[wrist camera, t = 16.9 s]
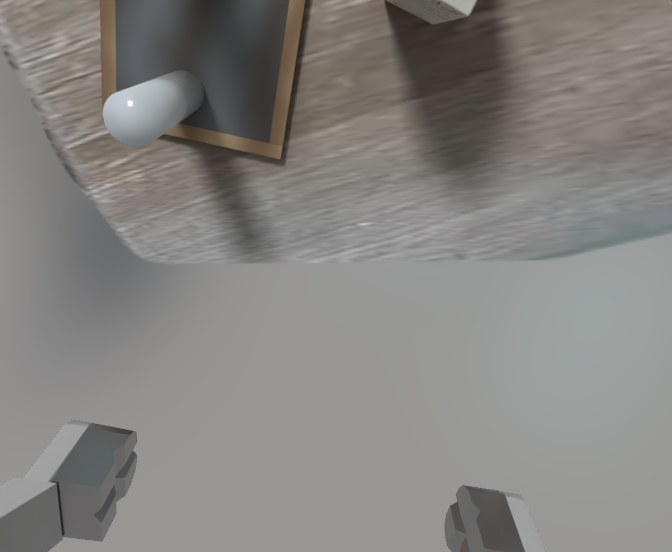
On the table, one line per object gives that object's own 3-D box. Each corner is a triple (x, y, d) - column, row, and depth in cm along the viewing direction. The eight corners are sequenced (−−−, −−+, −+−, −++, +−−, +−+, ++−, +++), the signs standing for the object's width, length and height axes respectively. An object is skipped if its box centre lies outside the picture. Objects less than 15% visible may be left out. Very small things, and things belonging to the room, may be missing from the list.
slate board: (316, -64, 34) (315, -66, 33) (281, 157, 41) (280, 159, 41) (102, -119, 32) (96, -123, 32) (107, 119, 40) (102, 120, 39)
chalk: (203, 72, 37) (156, 94, 27) (205, 114, 39) (161, 150, 29) (162, 67, 37) (98, 87, 27) (165, 110, 39) (107, 144, 28)
